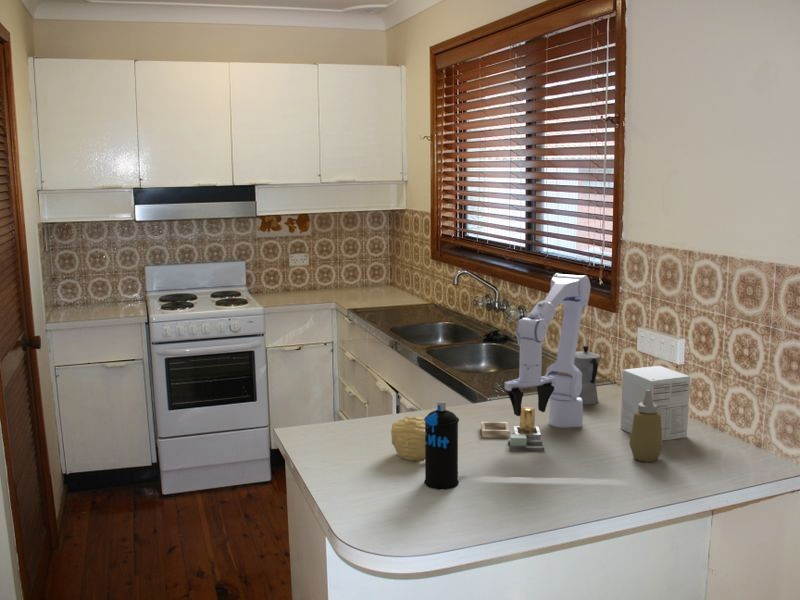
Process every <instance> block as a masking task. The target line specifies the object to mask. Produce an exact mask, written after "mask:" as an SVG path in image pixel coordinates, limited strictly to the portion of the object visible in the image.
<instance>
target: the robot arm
mask: <svg viewBox="0 0 800 600" xmlns="http://www.w3.org/2000/svg"><path fill="white" fill-rule="evenodd" d="M591 287H592V286H591V282H590V278H589V276H588V275H586V274H585V275H576V274H566V273H565V274H563V273H559V272H556V273H555V274H553V276H552V278H551V280H550V290H549V291H548V294H547V295H546V296H545V298H544V300H542V301H539V302H537V303H536V304H535V305H534V307H533V308H532V310H531V311H530V312H529V313H528V314H527V316H526V317H522V318H521V319H519V320H518V322H517V324H516V329H515V336H516V339H517V345H518V346H519V365H518V366H519V371H518V372H519V373H518V375H519V377H518V378H515V379H512V380H509V381H504V390H505V392H506V393H507V396H508V397H509V400H510V402H511V406H512V409H513V415H514V416H516V417H520V416H521V408H522V400H523V397H524V394H525V393H524V392H522V391H521V390H520V389H524V388H532V387H536V390H537V399H538V402H537V407H538V411H539V412H541V413H545V412H546V409H547V406H548V425H550V426H552V427H555V428H563V429H564V428H583V422H584V421H583V420H584V405H583V401H582V398H581V397H578V396H579V395H580V393H581V390H582V373H581V371H580V370H579V369H578V368H577V367H576V366H575V365H574V360H575V353H576V351H577V346H578V341H579V334H580V333H579V332H580V326H581V321H582V320H581V319H582V314H583V308H584V307H587V306H588V304H589V301H590V294H591ZM560 304H561V305H562V306H563V307H564V310H563V311H564V312H563V319H562V324H561V330H560V334H559V335H560V336H559V343H558V347H557V348H558V350H557V354H556V361H555V362H554V363H552V364H551V365H549V366H548V367H547V369H546V373H545V375H542V361H543V357H542V356H543V354H542V353H543V340H545V339H546V336H547V331H548V328H549V324H550V323H551V322H552V321H553V319H554V317H555V316H556V313H557V312H556V309H557V307H558V306H559V305H560ZM563 373H564V374H563ZM548 404H549V405H548Z"/></svg>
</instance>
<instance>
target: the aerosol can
mask: <svg viewBox="0 0 800 600" xmlns="http://www.w3.org/2000/svg"><path fill="white" fill-rule="evenodd" d="M446 404H447V402H446V401H445V400H438V401H437V409H436V410H433V411H431V412H430V413H428V414H427V415H426V416H425V417H423V418H424V421H425V458H424V459H425V460H424V461H425V463H424V465H425V468H424V470H425V472H424V473H425V475H424V478H425V479H424V485H425V486H426V487H428V488H431V489H433V488H434V489H433V490H440V489H444V490H450V489H451V490H452V489H454V488H456V487H457V486H458V485H459V483H460V481H459V479H458V478H459V477H458V476H459V475H458V473H459V472H458V471H459V470H458V469H459V463H458V462H459V436H458V435H459V422H460V418H459V417H458V416H457V415H456V414H455V413H454V412H453V411H450V410H447V405H446Z"/></svg>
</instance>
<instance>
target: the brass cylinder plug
mask: <svg viewBox="0 0 800 600" xmlns="http://www.w3.org/2000/svg"><path fill="white" fill-rule="evenodd" d="M535 412H536V409H535V408H534V407H531V406H523V407H522V406H521V416H519V426H520V433H530V434H534V426H535V423H536V421H535V417H536V416H535V415H536V413H535Z"/></svg>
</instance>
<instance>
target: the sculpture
mask: <svg viewBox="0 0 800 600" xmlns="http://www.w3.org/2000/svg"><path fill="white" fill-rule="evenodd" d="M424 418H425V417H420V416H411V417H410V416H405V417H403V418H402V419H400V420H398V421H395V422H393V423H392V424H391V431H390V432H391V445H393V447H394V449H395V451H396V453H397V454H398V456H400V457H401V458H402V459H404V460H406V461H411V462H412V461H414V462H419V461H420V462H421V461H425V421H424Z"/></svg>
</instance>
